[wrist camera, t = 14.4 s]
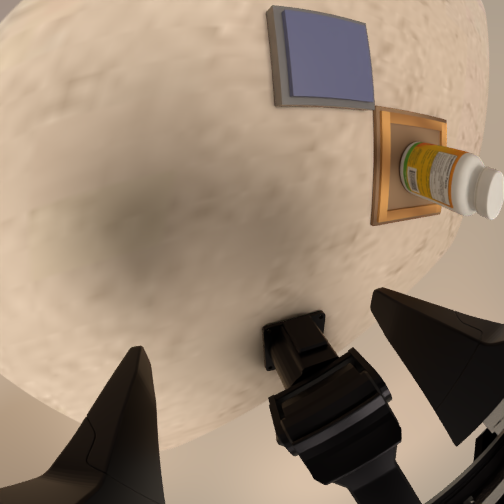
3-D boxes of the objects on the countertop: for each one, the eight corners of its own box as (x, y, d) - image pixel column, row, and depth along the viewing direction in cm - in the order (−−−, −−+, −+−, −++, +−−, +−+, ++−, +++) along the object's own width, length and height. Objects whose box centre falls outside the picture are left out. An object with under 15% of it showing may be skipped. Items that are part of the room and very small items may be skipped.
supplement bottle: (436, 159, 22) (512, 183, 14) (418, 202, 24) (492, 238, 15) (410, 130, 20) (497, 148, 12) (390, 177, 22) (477, 211, 13)
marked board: (437, 212, 26) (442, 214, 25) (370, 224, 24) (375, 227, 23) (443, 119, 21) (448, 120, 21) (373, 105, 19) (378, 105, 18)
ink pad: (364, 110, 19) (379, 110, 17) (275, 106, 17) (285, 104, 16) (355, 27, 15) (369, 21, 14) (266, 12, 14) (275, 2, 12)
